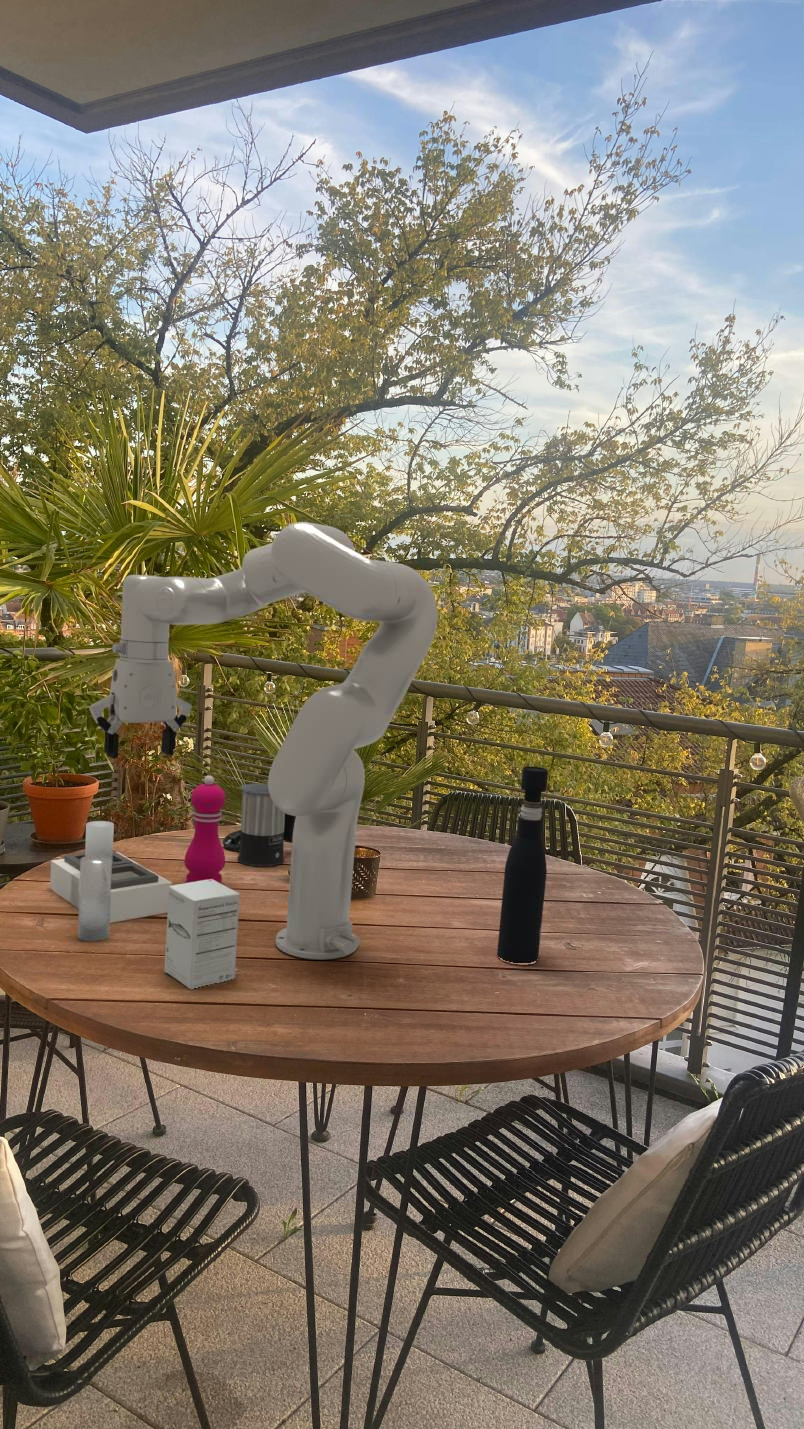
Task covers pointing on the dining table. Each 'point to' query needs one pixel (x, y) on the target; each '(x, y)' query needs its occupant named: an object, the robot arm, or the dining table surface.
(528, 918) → the dark water bottle
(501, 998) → the dining table surface
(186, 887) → the supplement box
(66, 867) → the socket block
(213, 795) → the pepper mill
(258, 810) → the milk frother
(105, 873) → the peg
